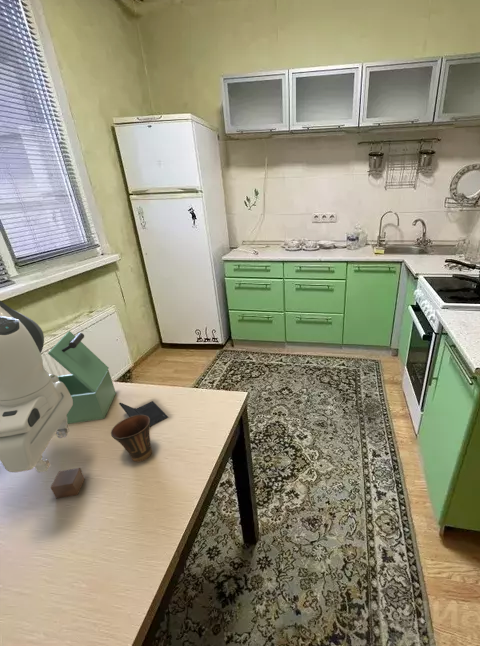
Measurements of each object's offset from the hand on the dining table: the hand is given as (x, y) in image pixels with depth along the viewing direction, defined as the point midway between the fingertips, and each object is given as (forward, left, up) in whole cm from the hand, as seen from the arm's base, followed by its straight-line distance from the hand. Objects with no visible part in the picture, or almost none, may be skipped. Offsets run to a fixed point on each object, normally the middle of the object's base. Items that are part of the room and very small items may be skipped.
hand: (55, 451), depth 68 cm
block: (0, 0, -12) cm, 12 cm away
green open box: (-7, +30, -12) cm, 33 cm away
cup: (+13, +8, -12) cm, 19 cm away
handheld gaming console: (+12, +22, -12) cm, 28 cm away
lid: (-4, +30, +5) cm, 30 cm away
